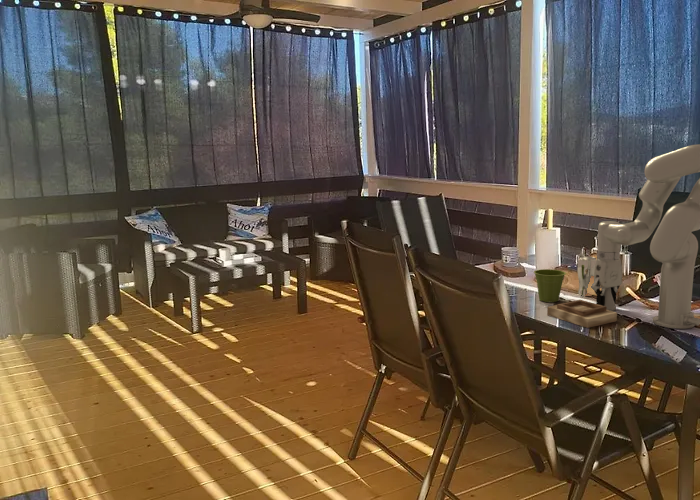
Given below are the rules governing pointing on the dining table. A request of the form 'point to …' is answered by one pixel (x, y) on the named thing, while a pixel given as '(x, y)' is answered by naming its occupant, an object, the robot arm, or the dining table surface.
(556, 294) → the plant pot
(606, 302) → the flask
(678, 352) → the dining table surface
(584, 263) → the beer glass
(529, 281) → the dining table surface
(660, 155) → the robot arm
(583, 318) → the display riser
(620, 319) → the dining table surface
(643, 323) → the dining table surface
